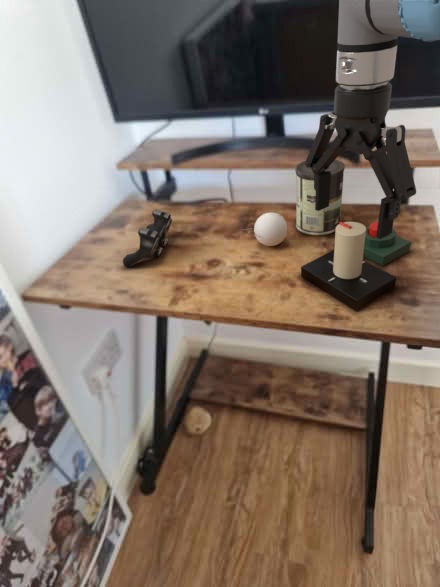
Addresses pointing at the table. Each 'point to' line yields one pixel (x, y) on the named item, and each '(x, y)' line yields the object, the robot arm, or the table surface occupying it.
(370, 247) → the button box
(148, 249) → the game controller
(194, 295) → the table surface
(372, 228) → the red button
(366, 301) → the panel
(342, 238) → the dial
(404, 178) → the robot arm
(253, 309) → the table surface
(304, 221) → the coffee can
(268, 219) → the white sphere
